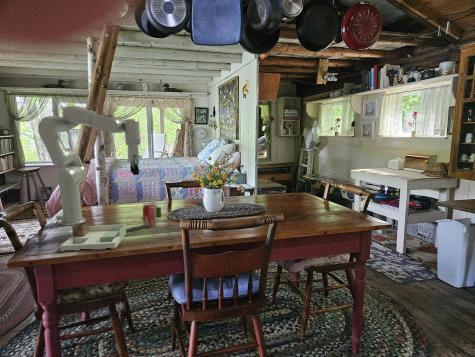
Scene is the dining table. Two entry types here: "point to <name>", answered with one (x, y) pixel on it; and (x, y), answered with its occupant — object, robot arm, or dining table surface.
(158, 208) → the puzzle toy
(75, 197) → the robot arm
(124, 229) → the trap board
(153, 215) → the soda can
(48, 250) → the dining table surface
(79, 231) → the walnut block
